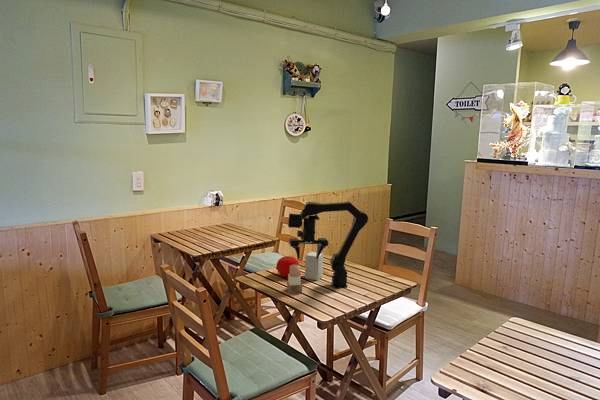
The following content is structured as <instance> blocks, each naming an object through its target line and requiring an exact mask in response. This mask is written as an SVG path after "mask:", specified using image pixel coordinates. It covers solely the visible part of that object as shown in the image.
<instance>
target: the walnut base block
mask: <svg viewBox="0 0 600 400" xmlns="http://www.w3.org/2000/svg"><path fill="white" fill-rule="evenodd" d="M286 283H287V284H286V290H287V292H288V294H289V295H295V294H296V295H297V294H299V295H300V294H301V295H302V293H303V284H302V282H301V283H300V285H289V283H288V281H287V282H286Z"/></svg>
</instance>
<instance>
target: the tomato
mask: <svg viewBox="0 0 600 400" xmlns="http://www.w3.org/2000/svg"><path fill="white" fill-rule="evenodd" d="M290 265H300V262H299V260H298V258H296V257H295V256H290V255H289V256H287V255H285V256H283V257H280V258H279V259H278V260H277V263H276V266H275V268H276V271H277V273H278V274H280V275H281V276H283V277H285V278H288V274H290Z"/></svg>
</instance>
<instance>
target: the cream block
mask: <svg viewBox="0 0 600 400" xmlns="http://www.w3.org/2000/svg"><path fill="white" fill-rule="evenodd" d="M287 282H288V283H289V285H300V283H301V284H302V281H301V275H300V276H299V277H291V276H290V274H288V277H287Z"/></svg>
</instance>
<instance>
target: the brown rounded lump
mask: <svg viewBox="0 0 600 400" xmlns="http://www.w3.org/2000/svg"><path fill="white" fill-rule="evenodd" d="M290 276H291V277H299V276H301V265H300V264H299V265H290Z"/></svg>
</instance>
